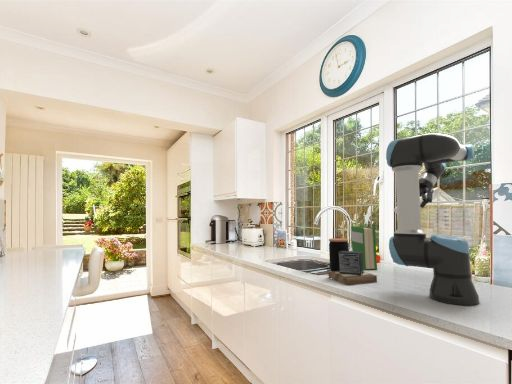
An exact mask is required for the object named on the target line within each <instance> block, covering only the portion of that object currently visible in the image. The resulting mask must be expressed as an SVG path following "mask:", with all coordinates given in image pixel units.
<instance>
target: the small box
mask: <svg viewBox="0 0 512 384" xmlns="http://www.w3.org/2000/svg"><path fill="white" fill-rule="evenodd" d="M338 254H339V273H342V274H353V275H362V274H363V273H364V272H365V271H364V270H363V252H356V251H352V250H349V251H340V252H338Z"/></svg>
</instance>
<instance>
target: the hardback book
mask: <svg viewBox="0 0 512 384" xmlns="http://www.w3.org/2000/svg"><path fill="white" fill-rule="evenodd" d="M350 229H351V249H352V250H351V251H356V252H363V270H364V272H366V271H367V270H374V271H378V260H377V258H378V257H377V256H378V255H377V241H376V237H377V236H376V227H373V226H365V225H364V226H360V225H357V226H355V225H354V226H351V227H350Z"/></svg>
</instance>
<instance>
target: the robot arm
mask: <svg viewBox="0 0 512 384" xmlns="http://www.w3.org/2000/svg"><path fill="white" fill-rule="evenodd" d="M385 159H386V165H387V166H388V167H390V168H391V171H392V172H394V174H395V186H396V187H395V190H396V205H395V207H394V208H393V211H394V213H395V214H397V215H396V216H397V217H396V218H397V229H396V230H395V231H394V232H393V236H391V237H390V238H389V242H388V250H389V254H390V257H391V258H392V261H393V263H395V264H397V265H399V266H404V267H416V268H423V269H424V268H427V269H432V270H433V271H432V273H433V278H432V281H431V284H430V288H429V292H428V293H429V297H430V298H431V299H433V300H434V301H437V302H441V303H444V304H451V305H457V306H459V305H460V306H475V305H478V304H479V303H480V296H479V294H478V292H477V289H476V287H475V285H474V282H473V280H472V272H471V271H472V270H471V260H470V259H471V258H470V257H471V256H470V254H471V251H470V247H469V243H468V241H467V240H466V239H465V238H462V237H456V236H451V235H443V234H431V235H430V238H429V237H426V236H427V234H426V232H425V231H424V230H422V217H421V216H422V215H421V212H422V210H423V208H425V206H426V205H427V204H428V203H433V193H434V191H435V190H434V189H433V187H434V186H435V185H436V183H437V182H438V181H439V179H440V177H441V176H442V175H443V174H444V172H445V170H446V169H447V164H448V163H456V162H464V161H465V162H467V161H470V160H471V161H472V160H474V159H475V149H474V145H473V144H464V145H463V144H460V142H459V140H458V139H457V138H456V137H454V136H451V135H449V134H443V133H425V134H420V135H415V136H408V137H400V138H397V139H395V140H391V141H390V142H389V144H388V145H387V148H386V153H385ZM423 166H424V168H425V170H424V172H423V174H422V175H421V177H419V176H420V174H419V172H420V171H421V170H423ZM420 198H421V199H422V200H421V199H420Z"/></svg>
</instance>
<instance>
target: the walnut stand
mask: <svg viewBox="0 0 512 384" xmlns="http://www.w3.org/2000/svg"><path fill="white" fill-rule="evenodd" d="M330 278H332V279H331V280H333V279H334V280H333V281H335V280H336V282H337V283H340V284H344V285H347V286H354V285H355V286H356V285H363V284H373V283H378V277H377V275H375V274H371V273H368V272H366V271H364V273H363V274H362V275H353V274H342V273H339V271H328V279H330Z"/></svg>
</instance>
